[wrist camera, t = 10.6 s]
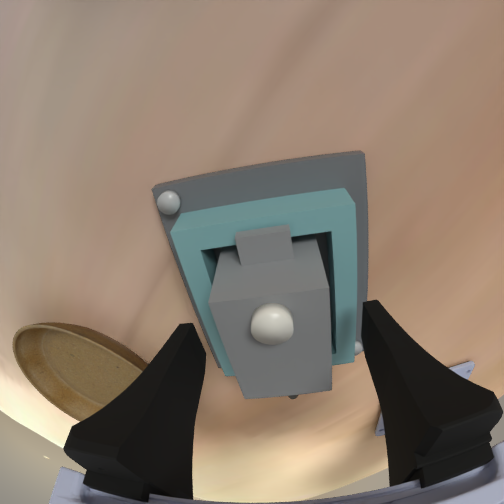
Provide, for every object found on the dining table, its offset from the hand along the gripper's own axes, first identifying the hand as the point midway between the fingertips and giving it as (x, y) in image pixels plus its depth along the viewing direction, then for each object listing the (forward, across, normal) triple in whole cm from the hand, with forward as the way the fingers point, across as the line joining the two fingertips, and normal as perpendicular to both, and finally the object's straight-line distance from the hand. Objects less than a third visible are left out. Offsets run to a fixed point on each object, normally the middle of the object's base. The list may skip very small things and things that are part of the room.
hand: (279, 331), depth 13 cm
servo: (+3, 0, +1) cm, 3 cm away
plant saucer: (+4, +16, +7) cm, 18 cm away
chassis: (+4, 0, 0) cm, 4 cm away
